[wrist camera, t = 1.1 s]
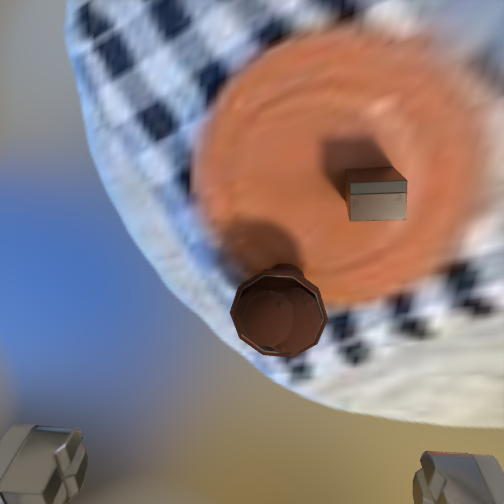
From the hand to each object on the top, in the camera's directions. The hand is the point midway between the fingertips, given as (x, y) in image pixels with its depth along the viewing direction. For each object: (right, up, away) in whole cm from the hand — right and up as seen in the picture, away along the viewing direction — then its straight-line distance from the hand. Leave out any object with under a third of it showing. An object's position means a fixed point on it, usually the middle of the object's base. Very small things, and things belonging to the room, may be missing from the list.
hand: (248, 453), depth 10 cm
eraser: (+14, +13, +41) cm, 45 cm away
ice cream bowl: (+5, +1, +47) cm, 47 cm away
